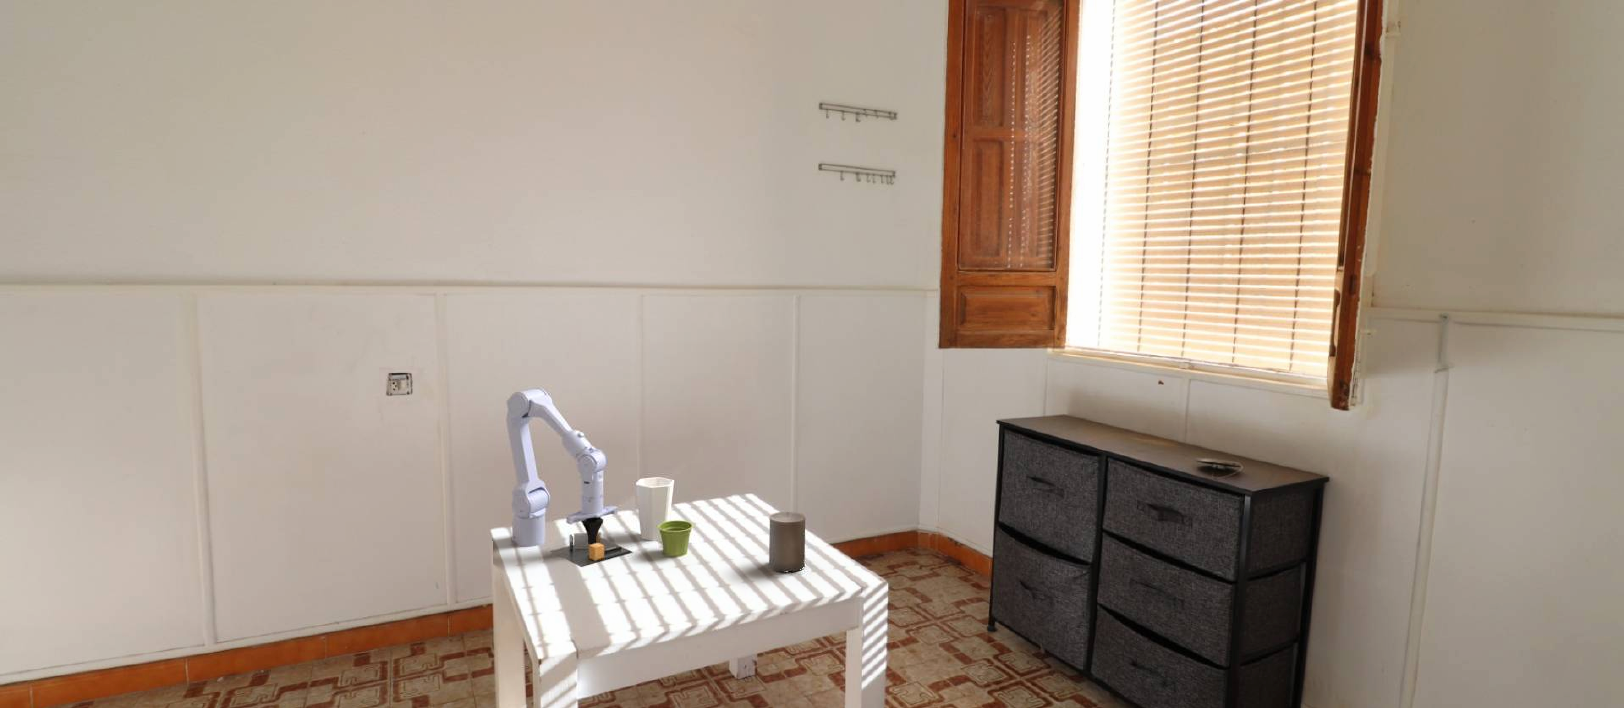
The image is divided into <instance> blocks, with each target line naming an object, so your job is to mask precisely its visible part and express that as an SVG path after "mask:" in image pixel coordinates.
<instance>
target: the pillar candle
mask: <svg viewBox="0 0 1624 708" xmlns="http://www.w3.org/2000/svg"><path fill="white" fill-rule="evenodd" d="M768 543H769V545H768V546H769V547H768V548H769V551H768V554H769V555H768V557H769V558H768V560H769V561H768V562H769V563H768V566H769V568H770V569H771V568H772V569H773V571H775V572H778V571H796V572H799V571H798V570H800V569H802V568H803V567H804V568H805V567H806V566H805V559H806V558H805V557H806V515H804V514H803V513H801V512H796V511H778V512H774V513H773V514H771V515H769V542H768ZM772 569H771V570H772ZM802 570H803V569H802ZM800 571H801V570H800Z"/></svg>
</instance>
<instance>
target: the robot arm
mask: <svg viewBox="0 0 1624 708" xmlns="http://www.w3.org/2000/svg"><path fill="white" fill-rule="evenodd" d="M552 399H553V398H552V397H551V396H550V395H549V394H548V393H547V391H546V390H545V389H543V388H541V387H535V388H532V389H528V390H523V391H515V392H513V393H512V394H511V395H510V397H509V398H508V399H507V400H506V406H507V413H506V414H507V415H506V419H505V420H506V426H507V434H508V438H509V444H510V449H511V455H512V458H513V459H512V460H513V465H514V470H515V475H516V480H517V481H516V482H517V483H516V484H515V487H514V488H513V490H512V491H511V493H512V494H511V495H512V500H511V509H512V511H513V513H514V514H515V515H514V516H513V518H512V521H511V524H512V526H511V528H512V529H511V532H512V533H511V534H512V535H511V536H512V540H511V541H513V542H515V543H517V545H519V546H520V547H524V548H525V547H526V548H527V547H536V546H542V545H543V544H544V543H545V542H546V512H547V508H548V507H549V506H550V503H551V496H550V492H549V491H548V490H547V488H546V483H545V482H544V481H543V480H542V479H540V478H539V475H538V470H537V464H536V459H535V453H534V448H533V444H532V438H531V433H530V426H529V423H530V422H531V420H533V418H540V419H543V420H544V421H545V423H547V424H548V426H550V428H551V429H552V430H553V431H555V433H556V434H558V435H559V437H561V445H562V446H563V448H564V449H565V450H566V451H567V452H568V453H569V454H570V456H571V457H572V458H573V459H574V461H576V462H577V463H576V468H577V471H578V472H579V474H580V480H581V481H580V483H581V487H580V488H581V490H580V492H581V493H580V494H581V496H580V497H581V499H580V500H581V501H580V502H581V506H580V507H581V509H580V511H577V512H575V513H572V514H568V515H566V517H565V521H566V524H567V525H573V524H575V523H579V522H581V524H582V525H583V527H584V530H585V531H586V532H585V533H587V535H588V544H590V545H592V544H595V543H596V537H597V534H598V532H600V528H601V527H602V525H603V523H604V519H603V517H605V516H608V515H617V514H618V506H615V505H609V506H607V505H606V506H604V470H605V468H606V467H607V465H608V457H607V455H606V454H605V452H604V450H602V449H598V448H596V447H595V446H594V445H592V444H591V443H590V441H589V440H588V439H587V438H586V437H585V435H586V434H585V433H584V432H582V431H580V430H577V429H572V427H571V426H570V425H569V423H568V422H567V421H566V419H565V418H564V417H563V416H562V415H561V413H560V412H559V411H558V408H556V407H555V405H554V403H553V400H552Z"/></svg>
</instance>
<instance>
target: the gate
mask: <svg viewBox="0 0 1624 708" xmlns="http://www.w3.org/2000/svg"><path fill="white" fill-rule="evenodd" d="M601 538H602V533H601V531H598V534H597V537H596V543H600V544H601ZM573 545H574V549H576V548H589V545H590V544H588V535H587V532H575V533H574V534H573Z"/></svg>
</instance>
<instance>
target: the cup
mask: <svg viewBox="0 0 1624 708" xmlns="http://www.w3.org/2000/svg"><path fill="white" fill-rule="evenodd" d="M634 484H635V491H636V492H635V493H636V500H637V501H636V502H637V512H638V522H639V529H640V537H641V539H643V540H647V541H656V542H658V543H662V538H661V534H660V530H659V529H658V525H659V524H661V523H663V522H667V521H670V518H671V516H670V515H671V509H672V500H673V493H674V484H675V480H674V479H670V478H665V477H660V476H658V477H657V476H656V477H648V478H647V477H645V478H640V479H638V481H636V483H634Z"/></svg>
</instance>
